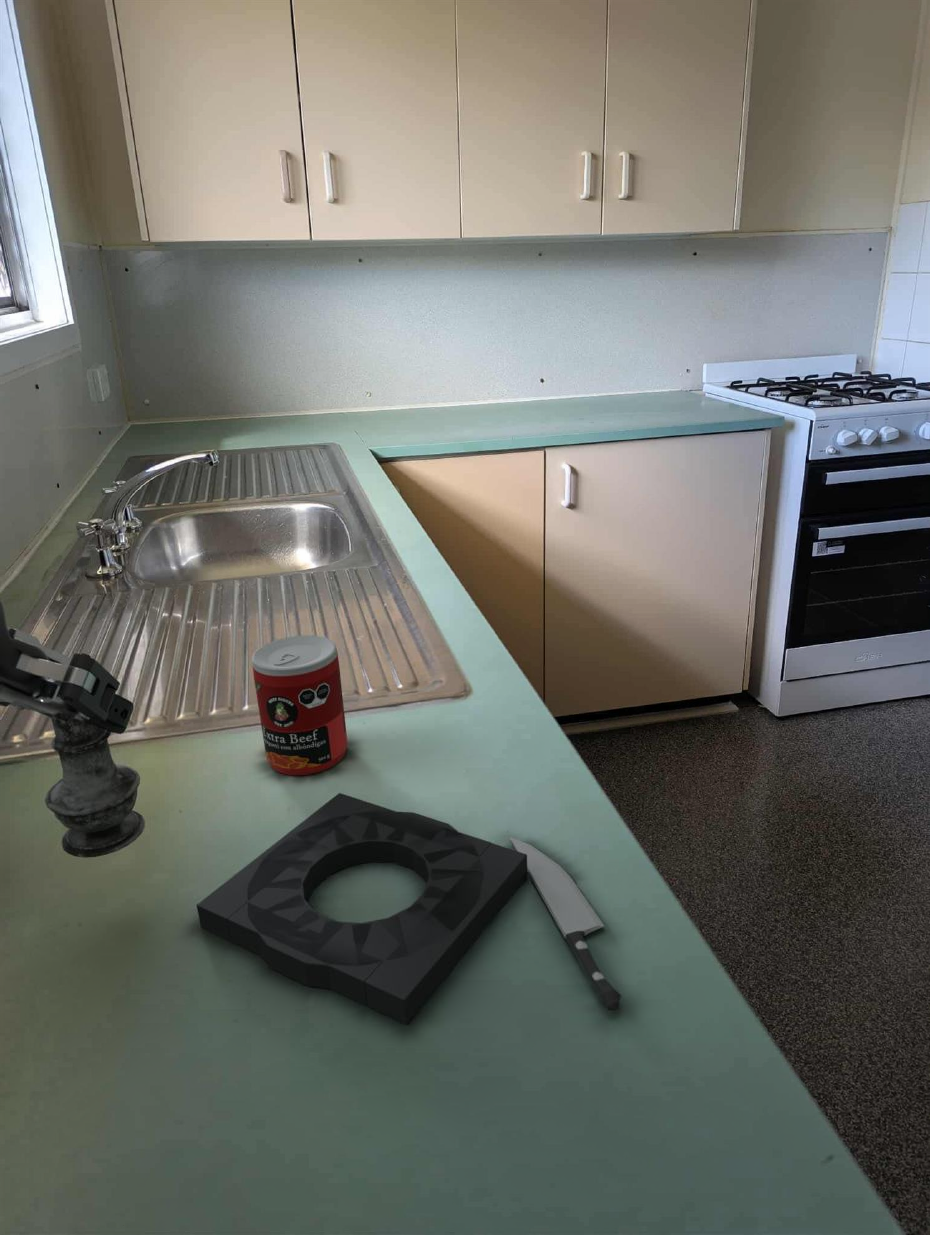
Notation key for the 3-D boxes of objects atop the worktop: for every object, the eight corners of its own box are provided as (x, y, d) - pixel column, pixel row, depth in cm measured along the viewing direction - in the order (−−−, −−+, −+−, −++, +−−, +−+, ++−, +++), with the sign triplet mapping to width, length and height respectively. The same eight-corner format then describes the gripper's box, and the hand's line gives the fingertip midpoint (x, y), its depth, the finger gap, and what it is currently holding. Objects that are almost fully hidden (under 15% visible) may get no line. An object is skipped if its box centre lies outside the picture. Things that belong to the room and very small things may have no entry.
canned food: (252, 773, 82) (235, 666, 78) (290, 731, 89) (276, 631, 85) (327, 781, 80) (314, 672, 76) (360, 738, 87) (349, 636, 83)
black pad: (194, 932, 62) (190, 909, 61) (345, 809, 75) (343, 789, 75) (401, 1031, 53) (399, 1006, 52) (531, 871, 66) (530, 850, 66)
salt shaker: (36, 851, 57) (-9, 687, 53) (99, 802, 62) (63, 648, 58) (108, 867, 55) (68, 699, 51) (167, 815, 61) (135, 658, 56)
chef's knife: (543, 834, 71) (508, 839, 70) (544, 822, 71) (509, 827, 70) (651, 1008, 54) (606, 1018, 53) (653, 994, 53) (607, 1003, 53)
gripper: (-257, 663, 44) (0, 753, 59) (-56, 700, 39) (170, 788, 54) (-186, 532, 47) (44, 650, 62) (12, 551, 42) (209, 674, 57)
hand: (102, 714), depth 58 cm, fingers closed on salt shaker, 3 cm apart
